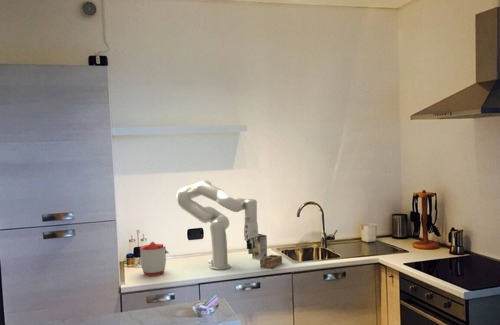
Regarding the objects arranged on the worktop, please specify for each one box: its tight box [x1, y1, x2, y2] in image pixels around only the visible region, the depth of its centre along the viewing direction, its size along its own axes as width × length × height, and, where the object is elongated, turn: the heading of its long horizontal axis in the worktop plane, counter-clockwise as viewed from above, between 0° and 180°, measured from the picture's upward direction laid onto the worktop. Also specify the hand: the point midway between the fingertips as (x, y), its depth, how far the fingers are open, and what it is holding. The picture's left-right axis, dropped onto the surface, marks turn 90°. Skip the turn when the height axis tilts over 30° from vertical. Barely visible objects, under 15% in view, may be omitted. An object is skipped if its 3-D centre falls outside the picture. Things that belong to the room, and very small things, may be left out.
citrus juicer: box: [139, 241, 169, 277], centre depth 288 cm, size 16×17×20 cm
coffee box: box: [251, 233, 268, 261], centre depth 314 cm, size 9×6×16 cm
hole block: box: [259, 254, 283, 270], centre depth 295 cm, size 8×14×5 cm, turn 149°
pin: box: [247, 237, 253, 255], centre depth 291 cm, size 3×3×10 cm
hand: (250, 248), depth 291 cm, fingers closed on pin, 3 cm apart
